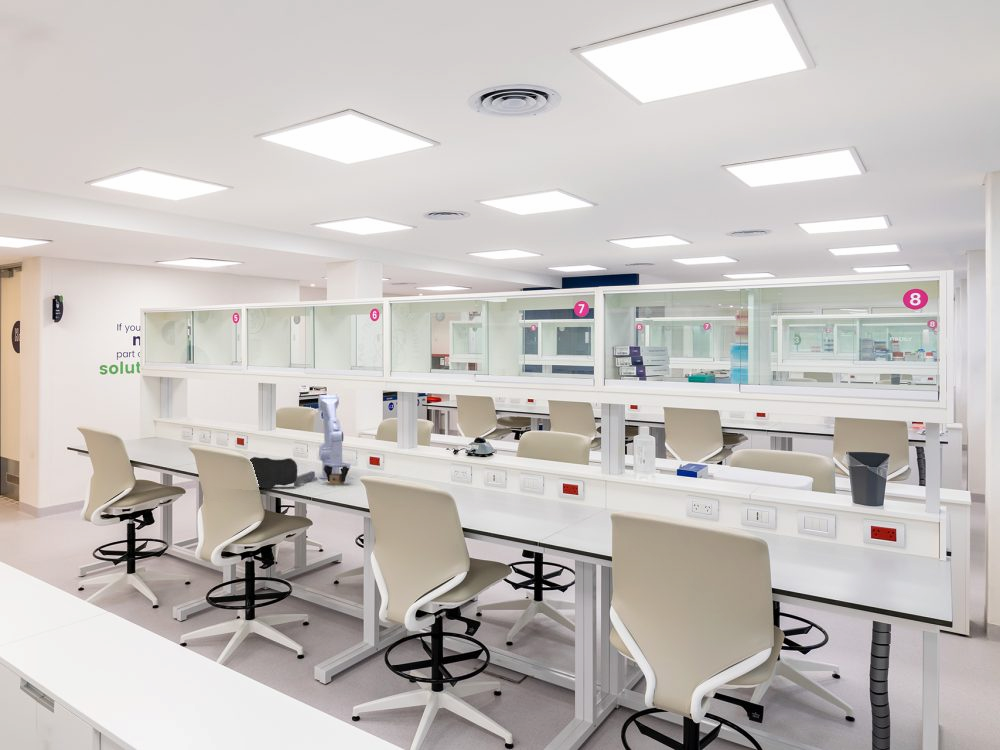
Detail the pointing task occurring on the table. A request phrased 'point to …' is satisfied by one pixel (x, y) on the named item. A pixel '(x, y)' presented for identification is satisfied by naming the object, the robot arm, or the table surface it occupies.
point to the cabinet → (336, 479)
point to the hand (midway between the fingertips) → (336, 481)
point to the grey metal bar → (305, 479)
